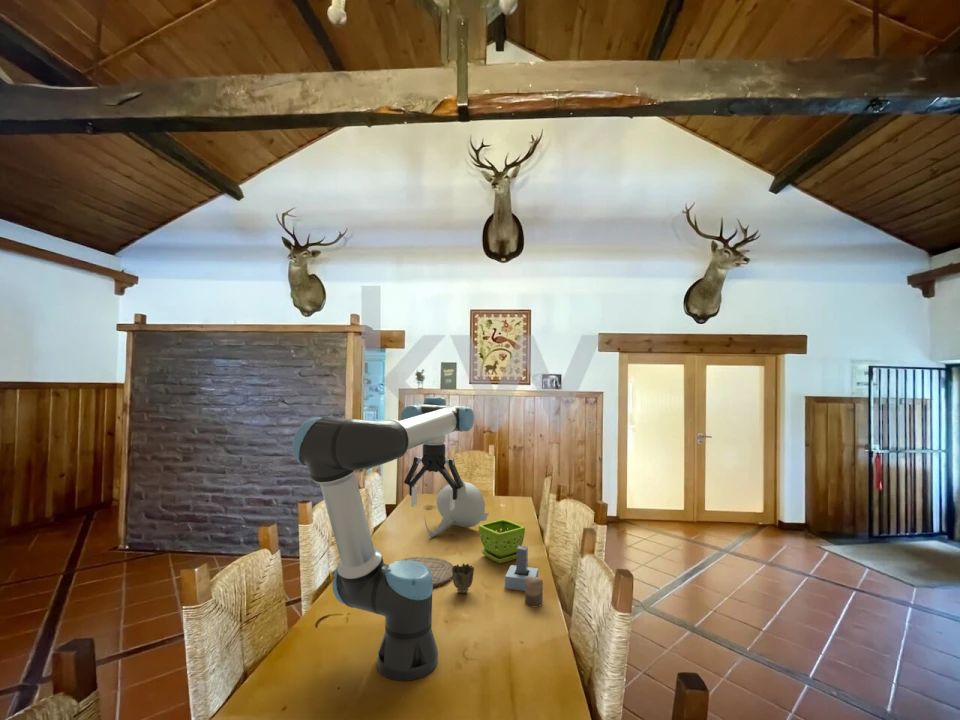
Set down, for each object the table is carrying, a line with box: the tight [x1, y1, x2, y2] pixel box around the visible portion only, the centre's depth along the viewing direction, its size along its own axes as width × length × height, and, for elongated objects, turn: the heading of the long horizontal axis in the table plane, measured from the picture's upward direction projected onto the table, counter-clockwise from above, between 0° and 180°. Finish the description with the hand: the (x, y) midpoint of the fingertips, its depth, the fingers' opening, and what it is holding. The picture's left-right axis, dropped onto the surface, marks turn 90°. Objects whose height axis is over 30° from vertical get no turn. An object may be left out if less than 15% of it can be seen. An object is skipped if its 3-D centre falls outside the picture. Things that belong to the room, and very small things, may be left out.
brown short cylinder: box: [524, 576, 544, 607], centre depth 148 cm, size 6×6×7 cm
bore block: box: [504, 564, 539, 592], centre depth 161 cm, size 10×10×4 cm
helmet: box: [423, 478, 489, 538], centre depth 215 cm, size 24×30×35 cm
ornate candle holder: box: [452, 563, 475, 595], centre depth 155 cm, size 8×7×8 cm
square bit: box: [515, 545, 529, 576], centre depth 162 cm, size 3×3×12 cm
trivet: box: [401, 556, 454, 589], centre depth 168 cm, size 25×25×2 cm
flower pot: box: [478, 518, 526, 565], centre depth 185 cm, size 14×14×13 cm
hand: (432, 507), depth 153 cm, fingers open, 13 cm apart
